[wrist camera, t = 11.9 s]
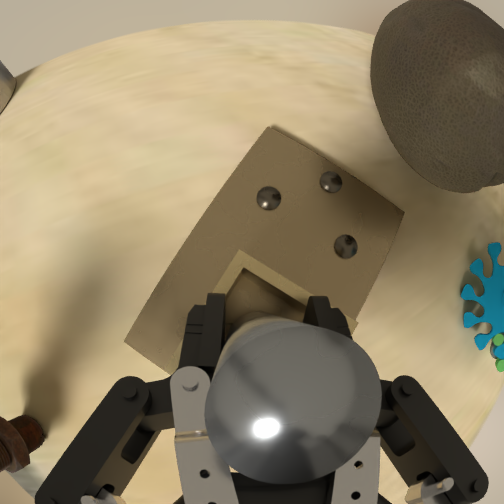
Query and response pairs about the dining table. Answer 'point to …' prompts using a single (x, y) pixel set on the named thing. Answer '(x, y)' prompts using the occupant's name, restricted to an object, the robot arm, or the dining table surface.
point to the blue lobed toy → (489, 305)
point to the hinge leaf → (272, 246)
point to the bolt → (18, 442)
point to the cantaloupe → (443, 91)
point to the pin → (290, 399)
